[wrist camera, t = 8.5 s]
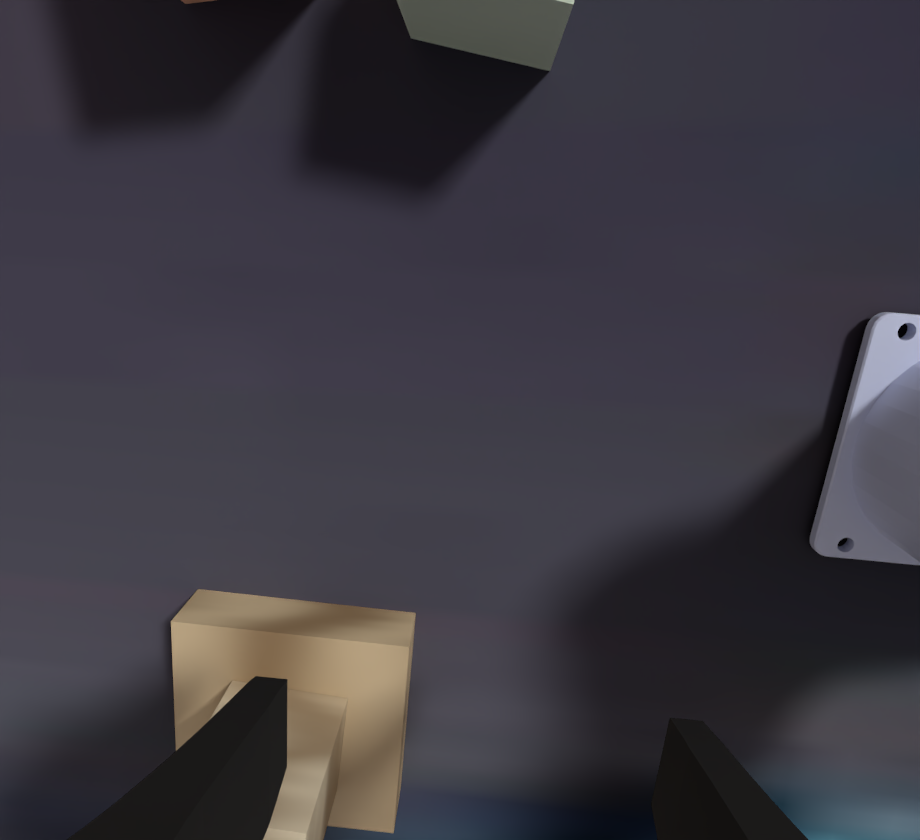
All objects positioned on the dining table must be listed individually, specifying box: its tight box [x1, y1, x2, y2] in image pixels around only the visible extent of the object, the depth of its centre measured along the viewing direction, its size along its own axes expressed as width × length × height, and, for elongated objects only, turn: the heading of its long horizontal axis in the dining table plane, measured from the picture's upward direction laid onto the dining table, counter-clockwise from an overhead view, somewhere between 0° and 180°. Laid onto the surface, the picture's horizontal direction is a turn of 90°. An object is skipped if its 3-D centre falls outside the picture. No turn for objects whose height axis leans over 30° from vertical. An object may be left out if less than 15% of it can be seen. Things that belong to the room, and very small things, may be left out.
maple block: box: [210, 680, 348, 840], centre depth 19 cm, size 4×4×5 cm
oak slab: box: [171, 589, 416, 833], centre depth 23 cm, size 8×8×2 cm
